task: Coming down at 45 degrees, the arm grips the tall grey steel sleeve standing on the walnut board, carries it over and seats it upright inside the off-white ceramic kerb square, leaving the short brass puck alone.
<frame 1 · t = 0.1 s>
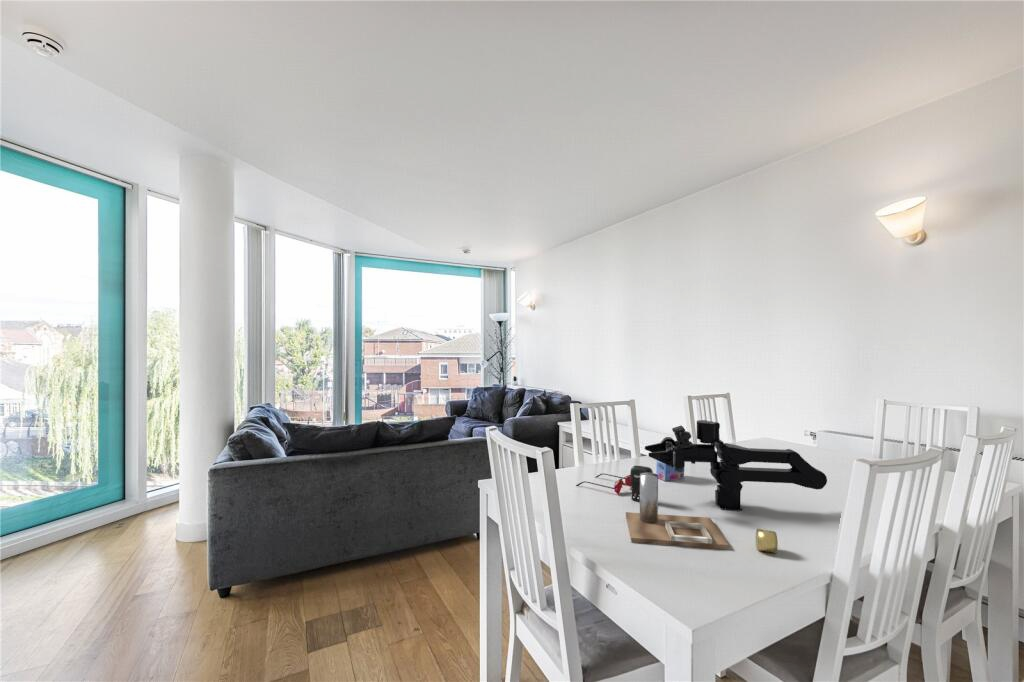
hand: (646, 451, 150), 17 cm above the table, tool horizontal, fingers open, 9 cm apart
battery charger: (641, 501, 151), on the table
sleeve: (648, 520, 132), point 1 cm above the table, touching board
glasses: (605, 487, 166), on the table
ink cartridge box: (670, 478, 176), on the table
board: (672, 531, 127), on the table
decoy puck: (757, 539, 116), point 3 cm above the table, tilted 92°
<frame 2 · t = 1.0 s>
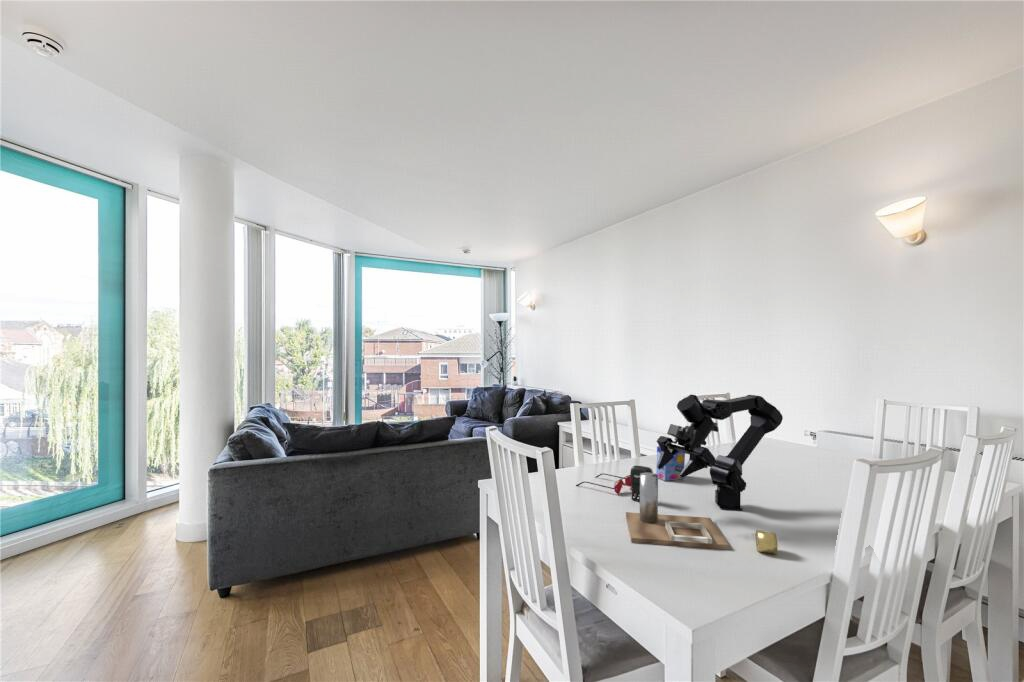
hand: (669, 472, 136), 14 cm above the table, tool tilted 45°, fingers open, 9 cm apart
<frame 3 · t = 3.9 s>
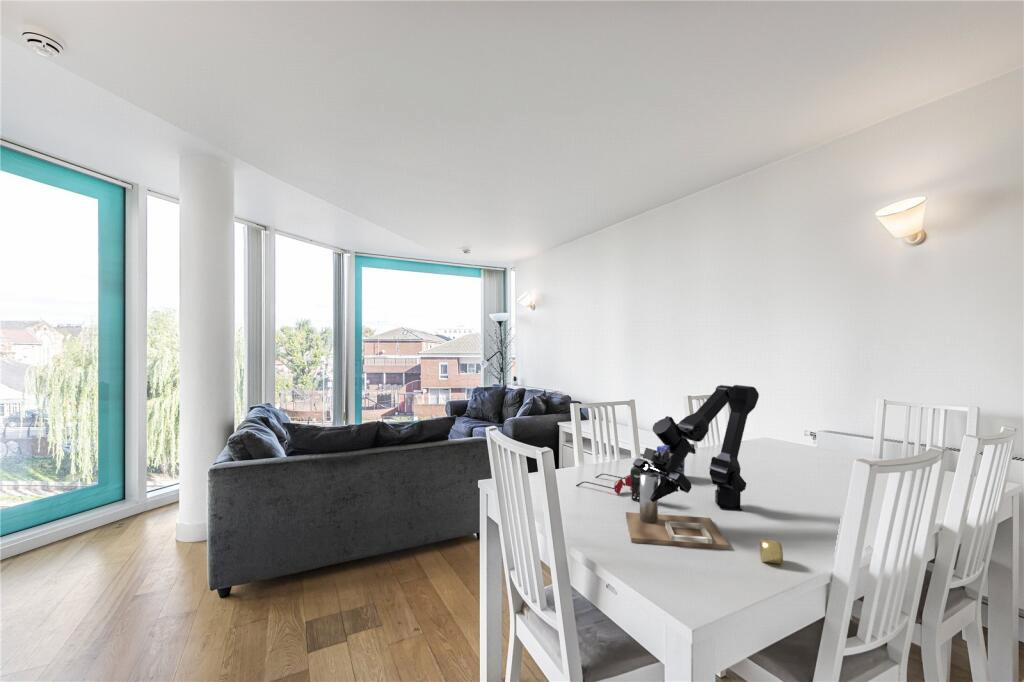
hand: (645, 497, 131), 8 cm above the table, tool tilted 45°, fingers closed on sleeve, 5 cm apart
sleeve: (648, 520, 132), point 1 cm above the table, touching board, gripper
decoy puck: (761, 550, 111), point 2 cm above the table, tilted 90°
everything else where it was.
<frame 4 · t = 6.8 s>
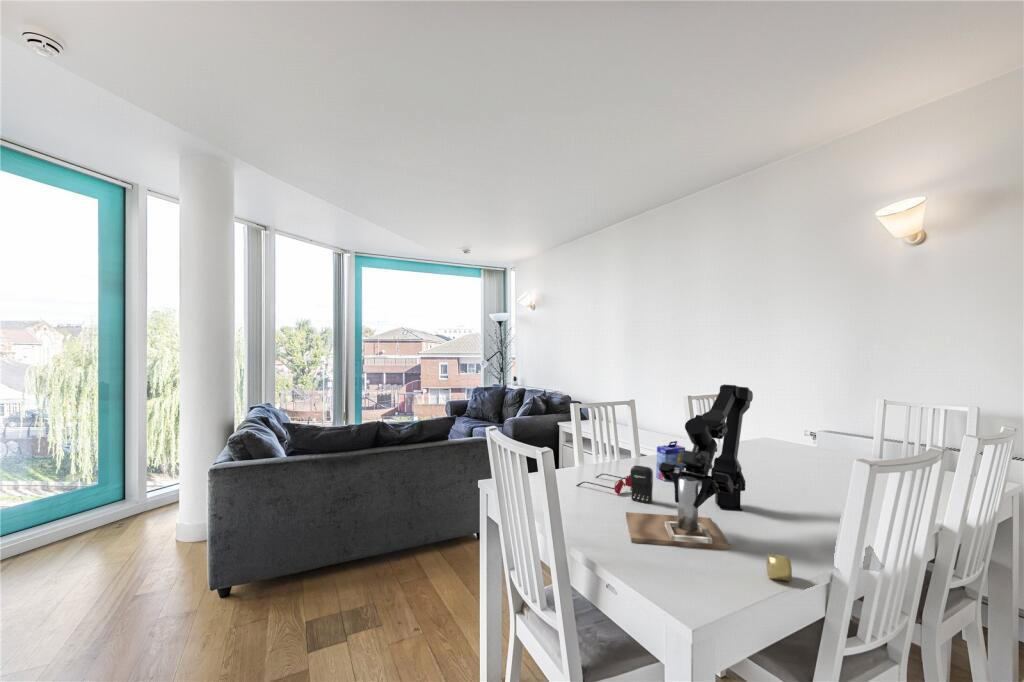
hand: (685, 504, 122), 9 cm above the table, tool tilted 45°, fingers closed on sleeve, 5 cm apart
sleeve: (687, 527, 123), point 3 cm above the table, touching gripper
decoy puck: (768, 565, 103), point 2 cm above the table, tilted 90°
everything else where it was.
when the fingers open (9 cm above the table, at t = 7.2 s): sleeve drops 1 cm, resting on board.
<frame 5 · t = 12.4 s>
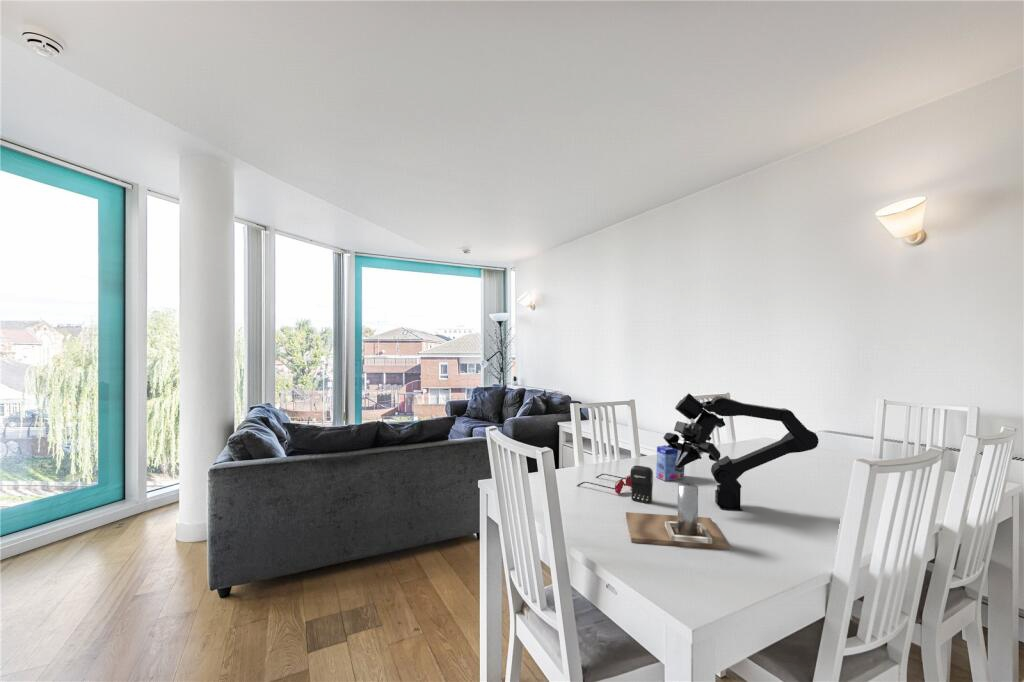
hand: (676, 467, 142), 14 cm above the table, tool tilted 45°, fingers closed
sleeve: (687, 533, 123), point 1 cm above the table, touching board
at the end: sleeve 0.1 cm from the target spot on the board, point 1.3 cm above the board's base; sleeve tilted 1°; the gripper is holding nothing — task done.
